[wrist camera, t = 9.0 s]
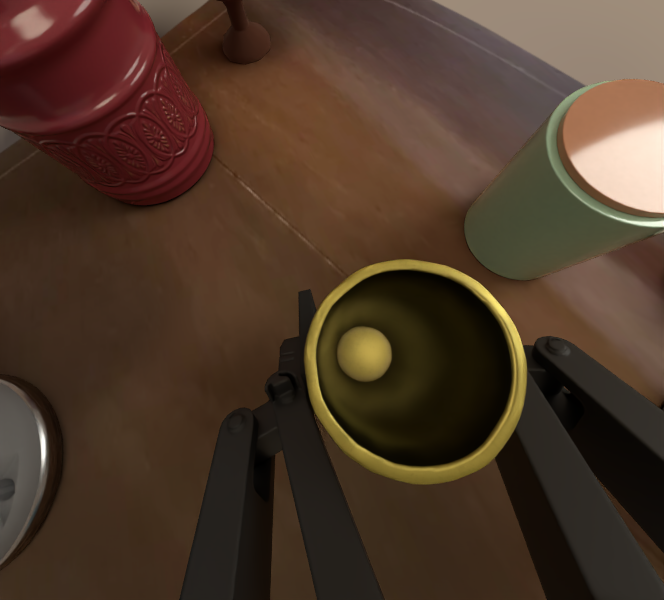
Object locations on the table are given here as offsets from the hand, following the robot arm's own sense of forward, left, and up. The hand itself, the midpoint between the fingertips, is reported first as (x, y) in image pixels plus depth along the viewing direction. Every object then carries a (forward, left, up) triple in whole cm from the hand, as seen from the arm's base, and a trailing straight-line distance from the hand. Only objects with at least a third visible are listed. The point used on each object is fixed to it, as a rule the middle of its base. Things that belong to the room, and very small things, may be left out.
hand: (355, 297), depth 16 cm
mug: (+6, +16, -5) cm, 18 cm away
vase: (+3, -2, -5) cm, 6 cm away
